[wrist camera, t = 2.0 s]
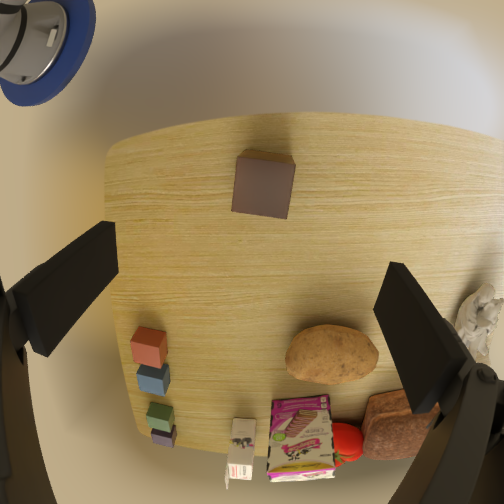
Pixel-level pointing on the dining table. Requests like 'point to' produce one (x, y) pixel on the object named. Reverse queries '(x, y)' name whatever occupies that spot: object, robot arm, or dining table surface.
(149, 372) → the block
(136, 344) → the block
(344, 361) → the potato
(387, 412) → the bread
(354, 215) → the dining table surface
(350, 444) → the tomato
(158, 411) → the block
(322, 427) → the candy bar box
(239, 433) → the ink box
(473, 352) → the figurine
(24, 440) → the robot arm
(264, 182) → the walnut block
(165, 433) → the block
